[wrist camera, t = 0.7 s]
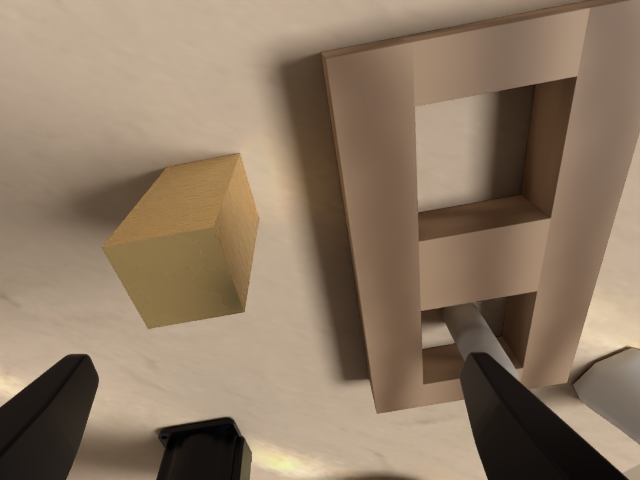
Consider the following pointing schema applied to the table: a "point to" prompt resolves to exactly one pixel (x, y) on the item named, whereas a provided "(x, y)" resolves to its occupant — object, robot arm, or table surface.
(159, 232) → the peg
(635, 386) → the flask
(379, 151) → the plate
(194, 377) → the table surface
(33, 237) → the table surface
